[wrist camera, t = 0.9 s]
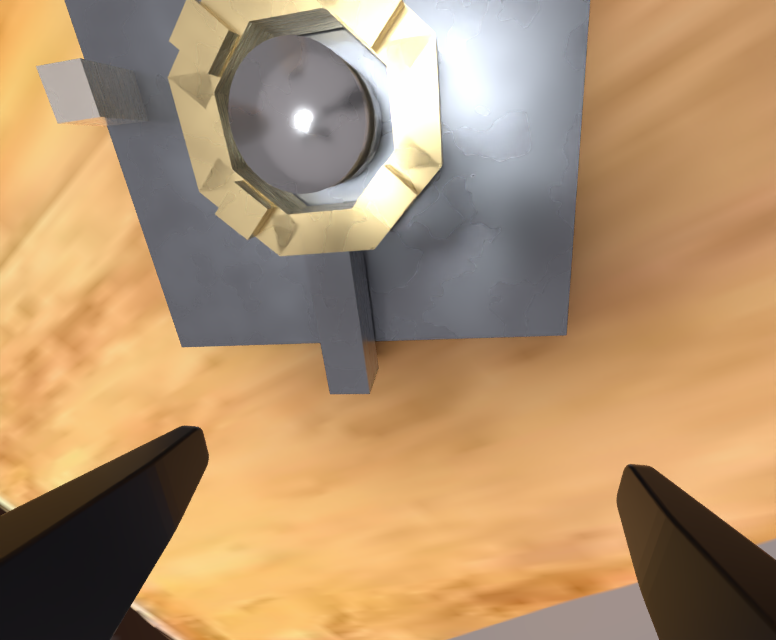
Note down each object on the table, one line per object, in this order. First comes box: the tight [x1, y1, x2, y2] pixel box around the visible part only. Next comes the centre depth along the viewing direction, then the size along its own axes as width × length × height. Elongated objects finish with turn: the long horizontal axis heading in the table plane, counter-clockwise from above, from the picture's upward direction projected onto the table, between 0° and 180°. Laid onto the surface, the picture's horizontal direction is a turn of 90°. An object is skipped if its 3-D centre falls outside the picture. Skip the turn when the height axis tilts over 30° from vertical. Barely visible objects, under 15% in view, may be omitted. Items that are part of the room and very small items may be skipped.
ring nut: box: [168, 0, 443, 394], centre depth 17 cm, size 17×10×3 cm, turn 7°
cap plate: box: [36, 0, 590, 347], centre depth 16 cm, size 21×21×5 cm
